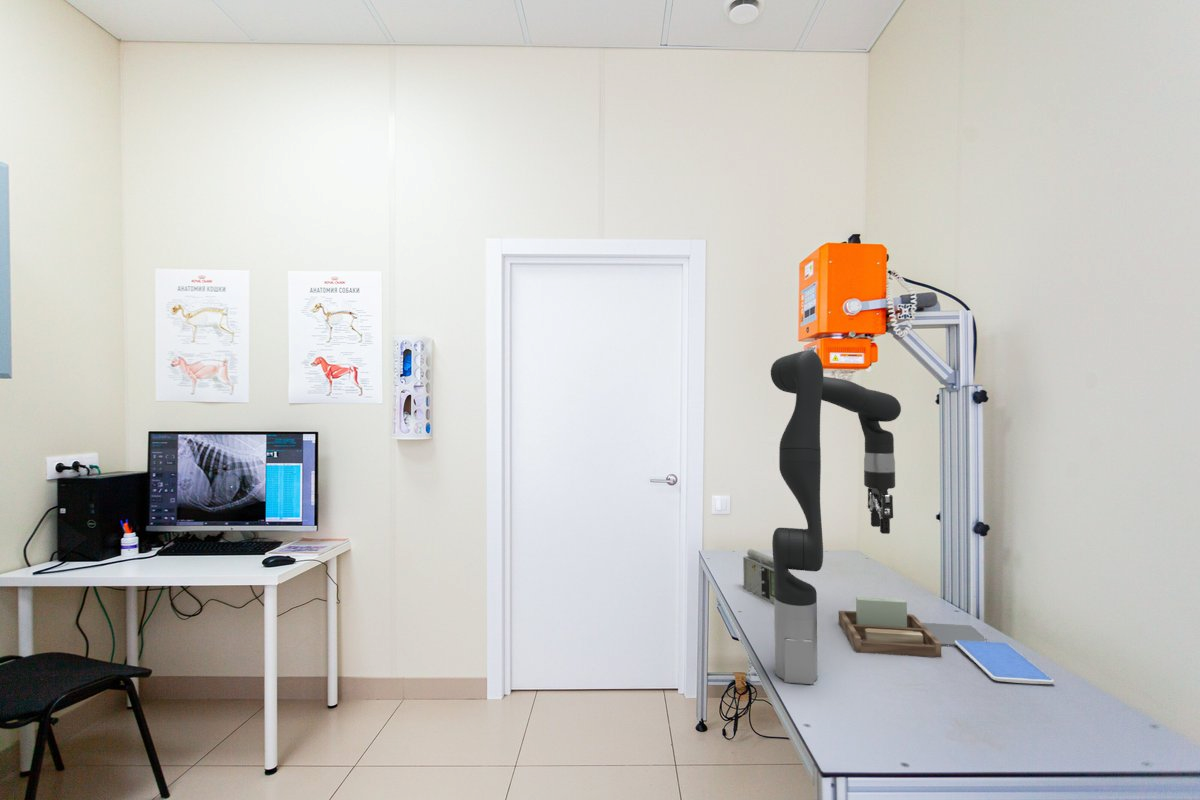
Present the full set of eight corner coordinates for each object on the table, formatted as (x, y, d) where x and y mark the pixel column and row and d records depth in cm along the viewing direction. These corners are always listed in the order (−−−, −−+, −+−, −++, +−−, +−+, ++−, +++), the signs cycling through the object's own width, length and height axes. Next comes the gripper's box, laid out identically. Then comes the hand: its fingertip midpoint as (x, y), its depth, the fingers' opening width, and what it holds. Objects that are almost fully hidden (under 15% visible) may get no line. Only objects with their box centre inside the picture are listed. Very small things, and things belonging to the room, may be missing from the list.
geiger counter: (739, 547, 190) (789, 567, 167) (755, 545, 192) (807, 564, 169) (740, 589, 190) (790, 615, 167) (756, 586, 192) (807, 611, 169)
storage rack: (941, 657, 138) (941, 643, 138) (855, 652, 142) (855, 638, 142) (913, 627, 157) (913, 614, 157) (838, 622, 160) (838, 610, 160)
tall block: (907, 636, 151) (906, 602, 151) (858, 633, 153) (858, 599, 153) (904, 632, 153) (903, 599, 153) (856, 629, 155) (856, 596, 156)
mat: (996, 649, 142) (996, 647, 142) (935, 645, 145) (935, 643, 145) (970, 627, 156) (970, 625, 156) (915, 624, 159) (915, 622, 159)
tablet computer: (952, 643, 145) (952, 638, 145) (1007, 646, 143) (1007, 641, 143) (993, 683, 125) (993, 677, 125) (1056, 687, 124) (1056, 681, 124)
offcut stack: (923, 653, 141) (923, 635, 141) (867, 649, 143) (866, 631, 143) (917, 646, 145) (917, 628, 145) (862, 642, 147) (862, 625, 147)
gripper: (903, 473, 146) (904, 536, 146) (886, 466, 160) (886, 524, 160) (871, 472, 147) (872, 535, 147) (857, 466, 161) (858, 523, 161)
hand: (880, 529), depth 153 cm, fingers open, 8 cm apart
